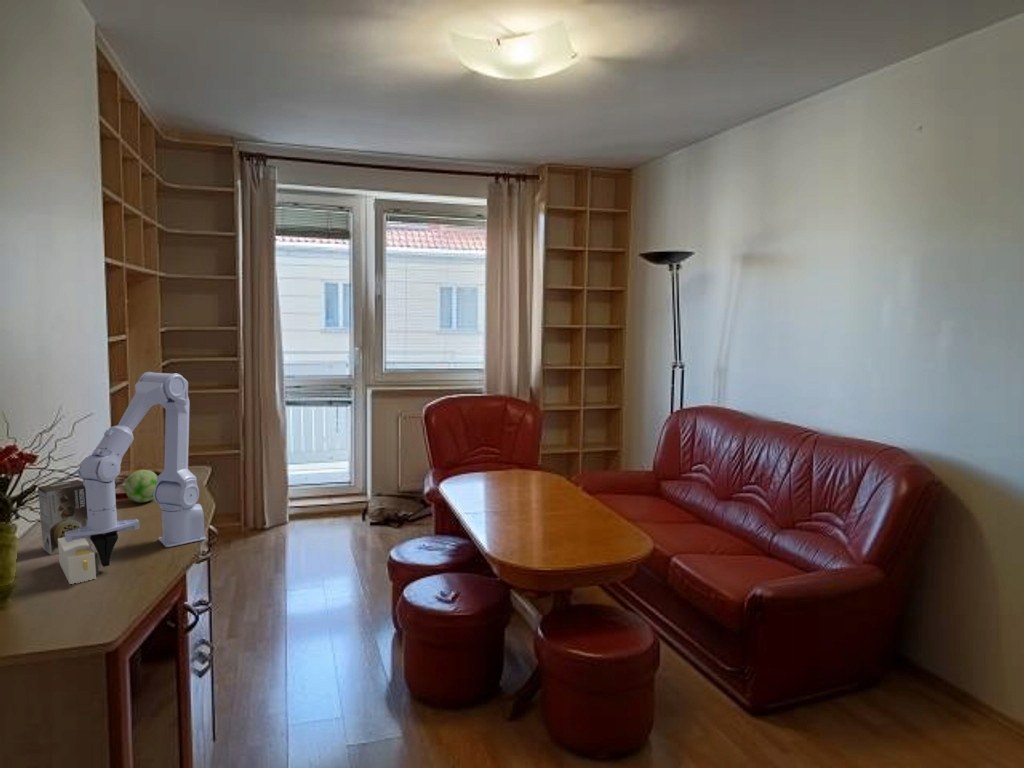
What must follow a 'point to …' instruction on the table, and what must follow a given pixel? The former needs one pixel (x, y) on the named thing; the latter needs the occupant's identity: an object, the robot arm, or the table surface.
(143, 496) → the decorative ball
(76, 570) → the socket box
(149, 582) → the table surface
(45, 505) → the coffee box
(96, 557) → the plug
